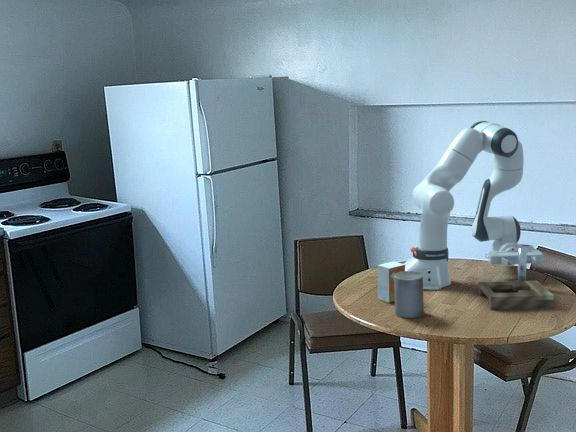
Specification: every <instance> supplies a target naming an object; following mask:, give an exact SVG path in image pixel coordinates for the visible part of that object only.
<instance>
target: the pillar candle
mask: <svg viewBox="0 0 576 432" xmlns="http://www.w3.org/2000/svg"><path fill="white" fill-rule="evenodd" d="M394 291H395V301H394V315H396V316H397V317H399V316H400V317H399V318H402V317H404V318H406V319H416V318H420V317H422V316H423V315H424V313H425V310H424V309H425V307H424V289H423V275H422V274H421V273H419V272H413V271H404V272H399V273H396V274H395V275H394Z"/></svg>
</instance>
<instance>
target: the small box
mask: <svg viewBox="0 0 576 432" xmlns="http://www.w3.org/2000/svg"><path fill="white" fill-rule="evenodd" d="M404 271H405V264H404V263H401V262H398V261H394V260H393V261H389V262H385V263H382V264H381V263H380V264H378V265H377V300H381V301H383V302H385V303H393V302H394V303H395V291H394V275H395V274H396V273H399V272H404Z"/></svg>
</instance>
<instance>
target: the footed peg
mask: <svg viewBox="0 0 576 432" xmlns="http://www.w3.org/2000/svg"><path fill="white" fill-rule="evenodd" d="M527 264H528V263H527V248H526V247H519V248H518V264H517V280H516V281H527Z"/></svg>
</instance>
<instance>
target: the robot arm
mask: <svg viewBox="0 0 576 432" xmlns="http://www.w3.org/2000/svg"><path fill="white" fill-rule="evenodd" d="M523 148H524V147H523V144H522V143H521V141H520V140H519V137H518V135H517V134H516V132H515V131H514V130H512V129H510V128H508V127H504V126H502V125H500V124H499V123H494V122H491V121H490V122H489V121H486V120H480V121H477V122H474V123H473V124H472V125H471V126H470V127H465V128H463V129H462V130H461V131H460V132H459V133H458V134H457V135H456V136H455V137H454V139H453V140H452V141H451V143H450V144H449V145H448V147H447V148H446V150H445V151H444V153H443V154H442V156H441V158H440V159H439V161H438V162H437V164H436V165H435V166H434V168H432V170H431V171H430V172H429V173H428V174H427V175H426V176H425V178H423V180H422V181H420V183H418V184H417V185H416V186H415V187H414V188H413V190H412V192H411V193H412V196H411V197H412V200H413V201H414V202H413V203H414V204H415V205H416V206H417V207H418V208H420V209H421V217H420V222H419V226H418V228H417V247H415V246H411V247H410V251H411V252H410V253H412V257H410V258H409V259H408V260H406V261H405V262H404V263H403V264H405V271H413V272H419V273H421V274H422V275H423V290H433V291H435V290H441V289H442V288H445V287H448V286H450V285H451V284H452V280H451V276H450V272H449V265H448V263H449V252H450V251H449V247H448V226H449V220H450V215H451V212H452V211H453V208H454V206H455V199H454V196H453V195H452V194H451V192H450V191H451V190H452V189H453V188H454V187H455V186H456V185H457V184H459V183H460V182H462V180H463V179H464V177H465V176H466V175H467V173H468V171H470V168H471V166H472V165H473V164H474V162H475V161H476V159H477V157H478V156H479V154H480V153H481V152H482V151H484V152H487V153H489V154H493V155H494V161H493V170H492V172H491V174H490V176H489V178H487V179H485V181H484V182H483V184H482V188H481V191H480V195H479V199H478V204H477V208H476V213H475V215H474V218H473V222H472V225H471V234H472V236H473V238H475V240H477V241H479V242H480V243H481V242H487V241H490V249H491V251H489V252H488V253H486V254H485V255H484V256H485V258H488V263H489V264H490V265H506V266H515V265H518V248H519V247H526V248H527V264H531V265H537V264H542V263H544V253H543V252H542V251H540V250H539V249H537V248H534V245H532V244H524V243H523V244H522V243H518V242H519V241H520V238H521V233H522V231H521V224H520V223H519V221H518V219H516V218H515V217H514V216H513V215H497V216H489V211H490V209H491V208H490V207H491V202H492V201H493V199H494V198H495V197H496V196H498V195H500V194H501V193H504V192H506V191H508V190H511V189H513V188H515V187H516V186H517V185H519V184H520V183H521V181H522V178H523V174H524V160H525V158H524V149H523Z"/></svg>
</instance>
